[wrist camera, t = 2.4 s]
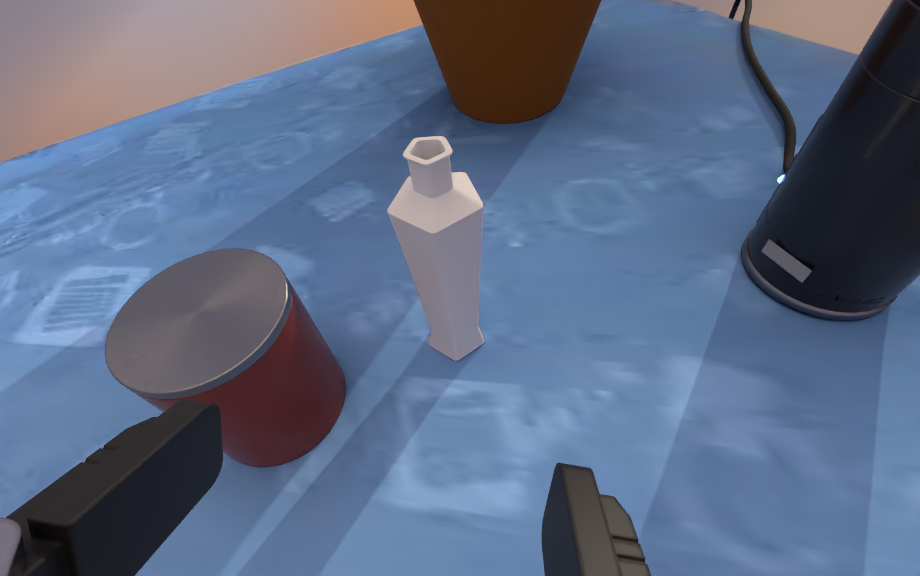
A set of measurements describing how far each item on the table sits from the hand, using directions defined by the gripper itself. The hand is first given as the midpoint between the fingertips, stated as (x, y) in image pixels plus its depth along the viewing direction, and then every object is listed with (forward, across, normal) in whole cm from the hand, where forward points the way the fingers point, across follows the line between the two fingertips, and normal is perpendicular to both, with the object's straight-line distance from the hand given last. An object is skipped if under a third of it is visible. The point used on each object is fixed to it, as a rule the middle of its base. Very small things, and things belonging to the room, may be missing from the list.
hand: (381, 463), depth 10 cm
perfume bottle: (+20, -1, +6) cm, 20 cm away
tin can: (+15, +10, +10) cm, 21 cm away
